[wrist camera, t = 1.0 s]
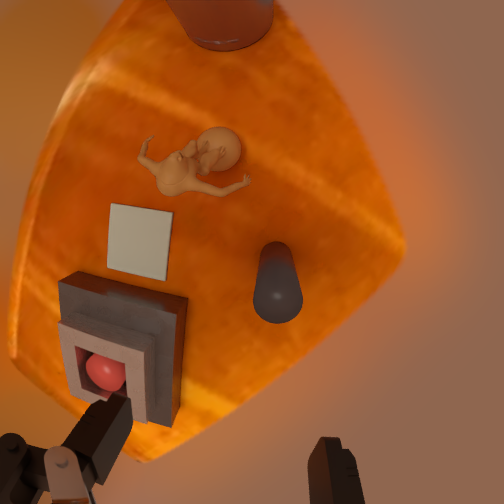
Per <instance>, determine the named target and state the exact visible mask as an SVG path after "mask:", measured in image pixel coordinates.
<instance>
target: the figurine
mask: <svg viewBox="0 0 504 504" xmlns="http://www.w3.org/2000/svg"><path fill="white" fill-rule="evenodd" d="M153 137H154V135H153V136H151V137H149V138H148V139H146V140H145V141H144V143H143V145H142V147H141V152H140V154H139V155H138V161H139V162H140V163H141V164H142V165H143V166H145V167H146V168H148V169H149V170H150V171H151V173H152V174H153V175H154V176H155V177H156V183H157V187H158V189H159V190H160V192H161V193H163V194H164V195H166V196H178V195H180V194H182V193H184V192H186V191H199V192H202V193H206V194H209V195H213V196H218V197H224V196H226V195H228V194H229V193H231V192H234V191H236V190H238V189H240V188H242V187H244V186H248V185H249V184H250V183H251V182H250V180H251V178H250V179H249V176H250V175H248V177H247V178H246V174H245V175H244V180H243V181H242V182H237V183H234V184H232V185H230V186H227V187H224V188H218V187H216V186H213V185H211V184H208V183H205V182H202V181H200V180H198V179H197V178H196V174H197V173H199V174H200V175H202V176H206V175H208V174H209V172H210V170H211V171H224V170H227V169H229V168H231V167H232V166H233V165H235V163H236V162H237V161H238V159H239V157H240V154H241V143H240V140H239V138H238V137H237V135H236V134H235V133H234V132H233V131H231V130H230V129H228V128H225V127H213V128H210V129H208V130H206V131H204V132H203V133H202V134H201V135H200V137H199V138H198V140H197V142H196V141H195V140H191V141H190V142H189V143H188V145H187V146H185V147H184V149H183V150H182V151H176V152H173V153H171V154H170V155H169V157H168V158H166V159H164V160H163V161H161V162H155V161H154V160H152V159H150V158H148V157H145V156H146V152H147V150H148V142H149V141H150V140H151V139H152V138H153ZM193 158H194V159H193ZM196 159H198V161H199V162H197V160H196Z"/></svg>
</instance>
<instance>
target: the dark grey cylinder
mask: <svg viewBox="0 0 504 504" xmlns="http://www.w3.org/2000/svg"><path fill="white" fill-rule="evenodd" d="M302 304H303V296H302V292H301V288H300V284H299V281H298V277H297V273H296V269H295V265H294V262H293V258H292V254H291V251H290V249H289V248H288V246H286V245H285V244H284V243H281V242H271V243H269V244H267V245H266V246H265V247H264V248H263V249H262V251H261V255H260V261H259V267H258V273H257V279H256V285H255V291H254V297H253V305H254V308H255V311H256V312H257V314H258V315H259V316H260V317H261V318H262V319H264V320H265V321H267V322H270V323H276V324H280V323H285V322H288V321H290V320H292V319H293V318H295V317H296V316H297V315H298V313H299V312H300V310H301V308H302Z"/></svg>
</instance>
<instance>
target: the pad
mask: <svg viewBox="0 0 504 504" xmlns="http://www.w3.org/2000/svg"><path fill="white" fill-rule="evenodd" d="M173 214H174V213H173V212H167V211H161V210H154V209H148V208H142V207H135V206H129V205H122V204H116V203H111V210H110V222H109V236H108V257H107V268H111V269H115V270H119V271H123V272H127V273H131V274H136V275H140V276H144V277H149V278H153V279H157V280H162V281H166V279H167V267H168V257H169V247H170V238H171V230H172V221H173Z"/></svg>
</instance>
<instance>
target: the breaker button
mask: <svg viewBox="0 0 504 504" xmlns="http://www.w3.org/2000/svg"><path fill="white" fill-rule="evenodd" d="M86 370H87V373H88V375H89V377H90V378H91V379H92V381H93V382H94V383H95V384H96V385H98V386H99V387H101V388H102V389H104V390H107V391H116V390H118V389H119V388H120V387H121V386H122V384H123V383H124V381H125V380H126V372H125V363H122V362H119V361H116V360H113V359H110V358H107V357H104V356H102V355H99V354H96V353H94V354H93V355H92V356H91V357H90V358H89V359H88V360H87V362H86Z"/></svg>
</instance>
